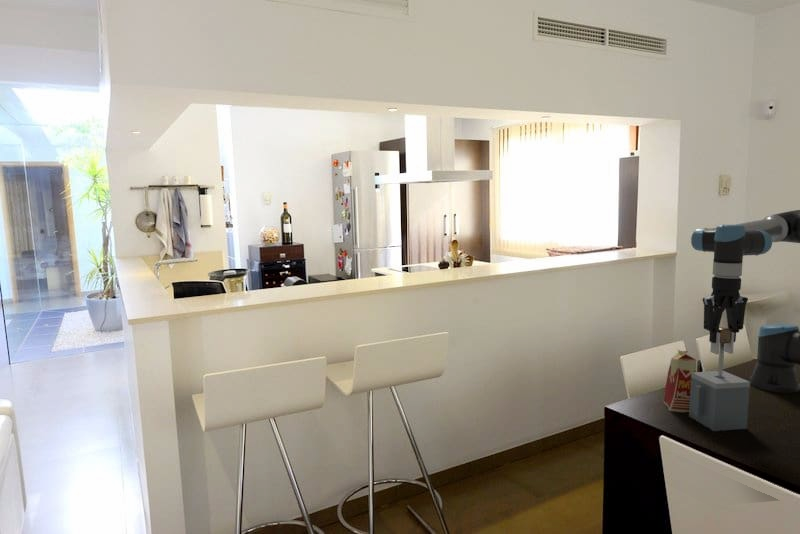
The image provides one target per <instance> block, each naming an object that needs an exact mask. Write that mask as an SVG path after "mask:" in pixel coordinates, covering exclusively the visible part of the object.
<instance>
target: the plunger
mask: <svg viewBox="0 0 800 534" xmlns="http://www.w3.org/2000/svg"><path fill="white" fill-rule="evenodd" d="M718 333H720V346H719V354H718V367H717V368H718V370H717V371H718V378H722V375H723V371H724V357H725V356H724V355H725V351H724V347H725V343H730V336H731V329H729V328H728V327H720V326H719V329H718Z"/></svg>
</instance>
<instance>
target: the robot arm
mask: <svg viewBox="0 0 800 534" xmlns="http://www.w3.org/2000/svg"><path fill="white" fill-rule="evenodd" d="M690 242H691V243H690V244H691V246H692V248H693V249H694V250H695V251H699V252H704V253H706V252H708V253H713V262H712V275H713V276H712V278H711V288H712V291H711V294H710V296H708V297H702V303H703V329H704V330H706V331H708V332H709V340H708V342H710V351H709V352H710V353H712V354H715V355H719V351H720V333H718V329H719V327H720V325H721V322H722V317H723V312H724V311H725V312H726V323H727V328H729V329H731V336H730V343H725V345H724V353H728V354H731V355H733V354H734V345H735V344H734V343H736V341H737V333H740V330H741V331H742V330H743V329H744V323H745V316H746V315H745V312H746V305H747V303H748V301H749V298H748V297H745V296H742V295H741V294H740V291H741V289H742V278H741V277H742V276H743V259H744V256H756V257H757V256H760V255H764V254H767V253H768V252H769V251H771V249H772V246H773V243H781V242H782V243H785V242H786V243H794V244H795V243H796V244H800V209H796V210H795V209H793V210H790V211H784V212H781V213H780V212H779V213H775V214H771V215H770V214H769V215H767V216H765V217H764V218H763V219H759V220H753V221H748V222H743V223H737V224H718V225H717V226H716V227H714V228H713V227H712V228H707V227H704V228H701V227H700V228H697V229H695V230H694V231H693V232H692V234H691V237H690ZM757 338H758V340H757V341H758V343H757V355H756V364H755V366H754V369H753V372H752V374H751V375H750V377H749V382H750V386H753V387H755V388H756V389H759V390H764V391H769V392H773V393H780V394H794V392H795V393H797V392H800V381H799V378H798V375H797V371H796V365H799V366H800V327H799V325H797V324H796V325H795V324H789V323H769V324H763V325H762V326H760V328H759V332H758V336H757Z"/></svg>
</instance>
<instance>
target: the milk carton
mask: <svg viewBox="0 0 800 534" xmlns="http://www.w3.org/2000/svg"><path fill="white" fill-rule="evenodd" d="M687 353H688V350H680V349H677V353H676V354H674V356H673V357H671V359H670V363H669V366H668V372H667V376H666V377H667V378H666V381H665V386H664V387H665V388H664V393H663V394H664V395H663V404H664V405H665V406H666V407H667V409H668V411H669V412H673V413H675V412H676V413H685V412H689V408H690V391H691V374H692V372H697V359H696V358H694V357H692V356H690V355H689V354H687Z"/></svg>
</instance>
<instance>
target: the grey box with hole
mask: <svg viewBox="0 0 800 534" xmlns="http://www.w3.org/2000/svg"><path fill="white" fill-rule="evenodd" d="M750 390H751V384H750V380H747V379H744V378H742V377H739V376H737V375H735V374H732V373H730V372H727V371H726V370H723V375H722V378H718V370H715V371H714V370H712V371H711V370H710V371H696V372H692V374H691V391H690V408H689V413H688V418H690V417H691V419H692V418H693V419H692V420H694V419H695V420H696V421H695V420H694V421H695V422H697V421H698V422H697V423H699V422H700V423H701V425H702V424H703V425H702V426H704V427H705V428H707V427H708V428H707V429H709V428H710V429H709V430H711V431H712V432H718V431H720V430H721V431H732V430H746V429H747V428H748V419H749V418H748V417H749V404H750V403H749V401H750ZM700 423H699V424H700ZM721 431H720V432H721Z"/></svg>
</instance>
